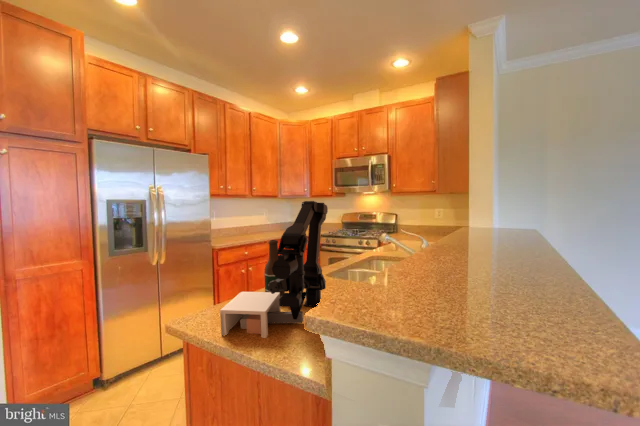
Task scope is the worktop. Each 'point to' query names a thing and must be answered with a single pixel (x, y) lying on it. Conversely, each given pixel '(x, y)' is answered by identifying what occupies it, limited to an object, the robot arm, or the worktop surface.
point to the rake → (275, 318)
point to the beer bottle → (271, 265)
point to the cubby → (249, 309)
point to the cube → (254, 324)
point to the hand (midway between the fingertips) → (296, 317)
